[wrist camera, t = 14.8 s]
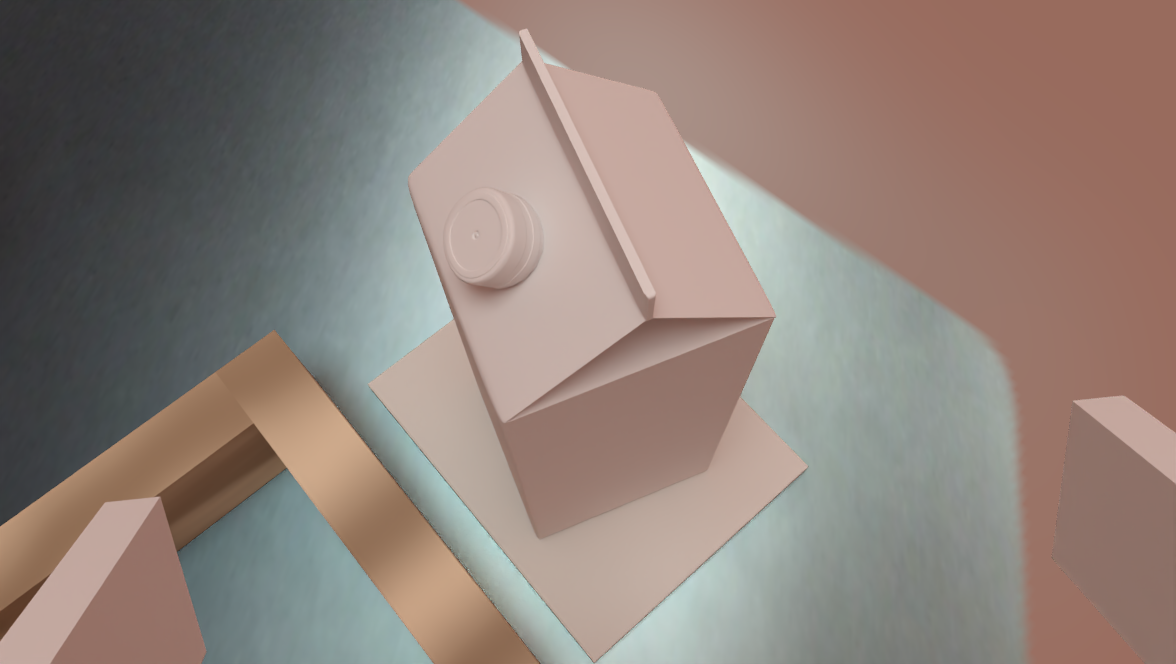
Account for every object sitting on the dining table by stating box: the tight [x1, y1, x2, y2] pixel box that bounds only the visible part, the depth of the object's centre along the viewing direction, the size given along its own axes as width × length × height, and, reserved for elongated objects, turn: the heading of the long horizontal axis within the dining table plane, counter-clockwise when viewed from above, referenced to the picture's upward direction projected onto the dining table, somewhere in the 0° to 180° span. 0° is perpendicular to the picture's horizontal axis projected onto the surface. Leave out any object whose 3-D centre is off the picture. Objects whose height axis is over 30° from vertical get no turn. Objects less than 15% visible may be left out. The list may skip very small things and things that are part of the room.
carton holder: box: [0, 330, 540, 664], centre depth 32 cm, size 16×16×5 cm
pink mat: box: [368, 319, 808, 663], centre depth 37 cm, size 14×11×1 cm
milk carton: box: [408, 29, 776, 539], centre depth 28 cm, size 7×7×19 cm
